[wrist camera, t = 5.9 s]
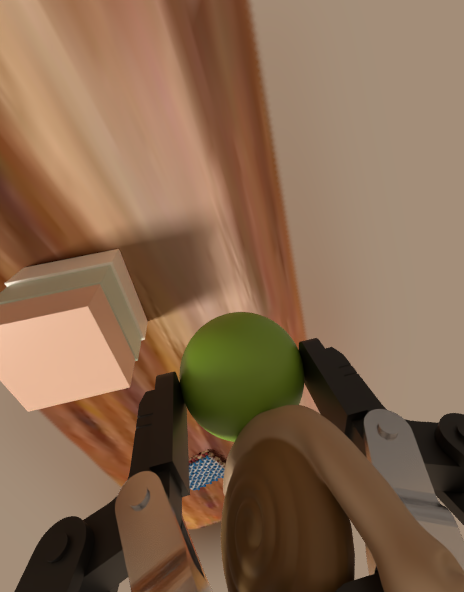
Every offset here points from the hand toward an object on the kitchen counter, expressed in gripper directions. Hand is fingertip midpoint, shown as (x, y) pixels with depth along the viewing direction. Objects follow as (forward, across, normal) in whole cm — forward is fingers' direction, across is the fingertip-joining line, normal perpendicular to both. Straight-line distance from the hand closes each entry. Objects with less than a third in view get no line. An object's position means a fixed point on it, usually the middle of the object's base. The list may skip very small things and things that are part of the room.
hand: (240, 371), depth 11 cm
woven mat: (+24, +11, +53) cm, 59 cm away
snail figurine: (+3, 0, 0) cm, 3 cm away
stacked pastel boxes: (+24, +16, +7) cm, 29 cm away
